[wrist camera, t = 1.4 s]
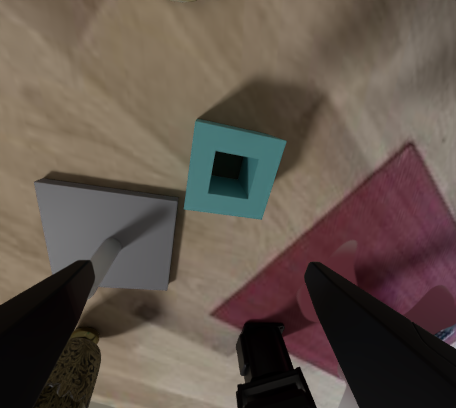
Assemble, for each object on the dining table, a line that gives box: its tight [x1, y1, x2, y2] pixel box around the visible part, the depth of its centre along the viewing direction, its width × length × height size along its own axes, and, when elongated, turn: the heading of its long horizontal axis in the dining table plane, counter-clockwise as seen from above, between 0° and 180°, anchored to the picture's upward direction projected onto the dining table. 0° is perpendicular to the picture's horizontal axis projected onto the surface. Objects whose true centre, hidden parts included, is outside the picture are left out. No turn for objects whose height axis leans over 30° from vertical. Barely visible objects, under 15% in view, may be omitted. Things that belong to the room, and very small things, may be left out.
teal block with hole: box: [184, 119, 287, 220], centre depth 17 cm, size 6×6×5 cm
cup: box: [33, 327, 101, 408], centre depth 23 cm, size 8×7×8 cm
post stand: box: [34, 178, 178, 300], centre depth 18 cm, size 12×12×7 cm
